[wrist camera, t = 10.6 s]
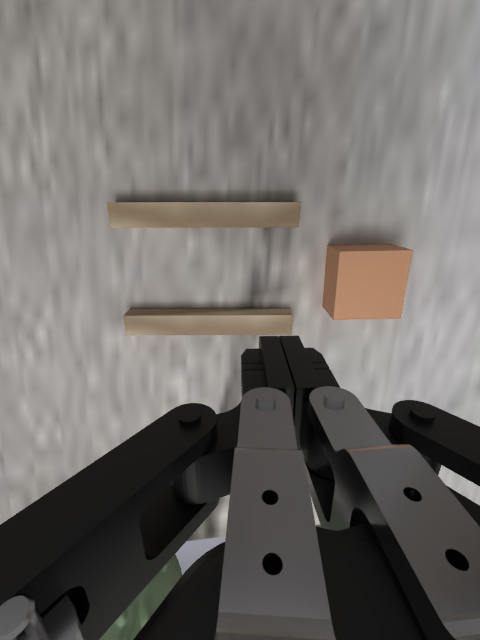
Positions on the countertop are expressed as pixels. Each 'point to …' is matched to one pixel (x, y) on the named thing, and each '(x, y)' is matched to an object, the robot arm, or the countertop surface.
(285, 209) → the chute
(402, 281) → the terracotta block
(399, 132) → the countertop surface
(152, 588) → the cabbage
